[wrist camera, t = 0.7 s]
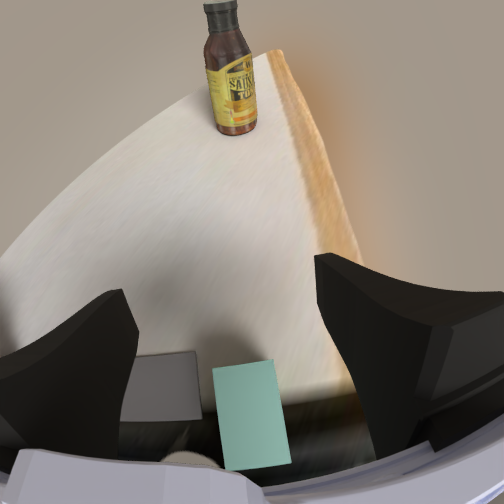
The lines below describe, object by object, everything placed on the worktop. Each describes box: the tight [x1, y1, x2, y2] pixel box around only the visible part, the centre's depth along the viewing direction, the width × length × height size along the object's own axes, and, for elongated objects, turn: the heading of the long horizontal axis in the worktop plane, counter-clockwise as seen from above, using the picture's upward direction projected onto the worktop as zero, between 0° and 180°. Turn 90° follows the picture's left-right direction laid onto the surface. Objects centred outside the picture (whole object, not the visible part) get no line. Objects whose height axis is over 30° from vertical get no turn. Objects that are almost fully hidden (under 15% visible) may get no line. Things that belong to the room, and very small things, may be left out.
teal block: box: [212, 359, 291, 471], centre depth 19 cm, size 7×4×6 cm, turn 8°
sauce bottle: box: [203, 0, 257, 135], centre depth 35 cm, size 6×6×20 cm
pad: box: [120, 352, 203, 422], centre depth 24 cm, size 6×9×1 cm, turn 98°
